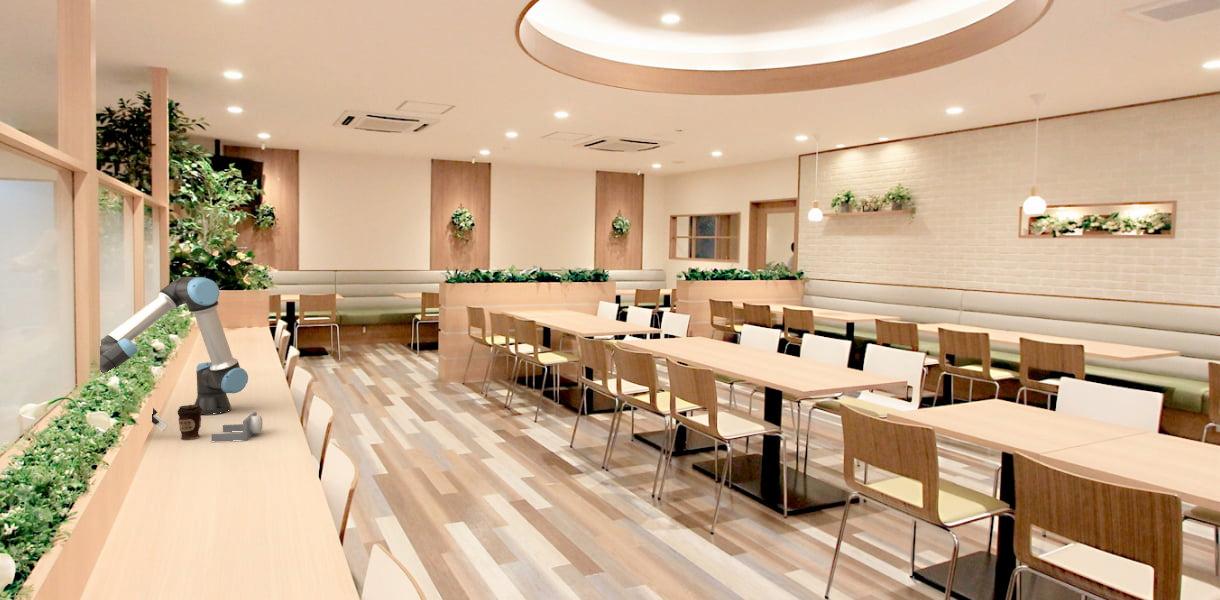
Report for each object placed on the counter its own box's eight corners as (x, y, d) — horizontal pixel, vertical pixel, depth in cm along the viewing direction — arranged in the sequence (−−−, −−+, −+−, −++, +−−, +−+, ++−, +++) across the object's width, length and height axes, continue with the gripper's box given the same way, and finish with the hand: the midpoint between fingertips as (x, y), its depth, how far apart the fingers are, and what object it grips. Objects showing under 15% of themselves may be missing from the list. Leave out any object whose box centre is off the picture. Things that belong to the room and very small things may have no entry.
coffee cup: (194, 441, 281) (193, 408, 280) (173, 440, 281) (172, 408, 280) (207, 435, 289) (206, 403, 288) (186, 435, 290) (185, 403, 289)
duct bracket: (223, 432, 295) (223, 413, 294) (265, 430, 298) (264, 411, 298) (211, 442, 280) (210, 422, 279) (255, 440, 283) (255, 420, 283)
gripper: (117, 391, 284) (164, 430, 289) (101, 398, 271) (151, 439, 276) (131, 377, 285) (179, 417, 289) (116, 384, 272) (166, 425, 277)
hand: (165, 428), depth 283 cm, fingers closed
